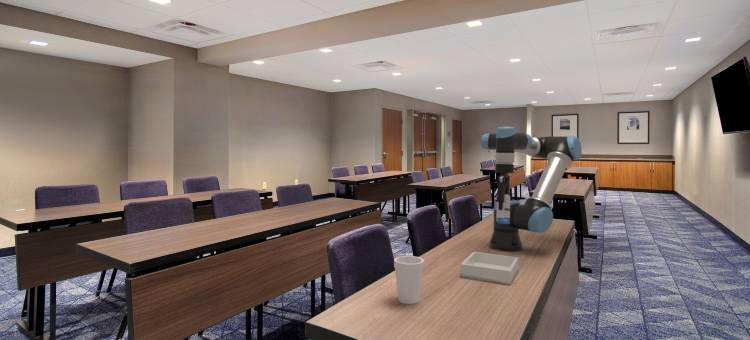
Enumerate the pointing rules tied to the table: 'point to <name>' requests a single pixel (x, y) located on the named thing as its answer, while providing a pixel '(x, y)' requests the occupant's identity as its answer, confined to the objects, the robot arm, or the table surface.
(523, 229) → the robot arm
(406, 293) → the foam cup
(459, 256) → the table surface
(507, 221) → the ink box
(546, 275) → the table surface
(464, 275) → the tray
